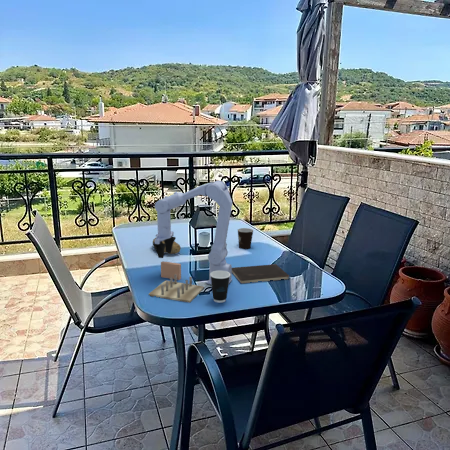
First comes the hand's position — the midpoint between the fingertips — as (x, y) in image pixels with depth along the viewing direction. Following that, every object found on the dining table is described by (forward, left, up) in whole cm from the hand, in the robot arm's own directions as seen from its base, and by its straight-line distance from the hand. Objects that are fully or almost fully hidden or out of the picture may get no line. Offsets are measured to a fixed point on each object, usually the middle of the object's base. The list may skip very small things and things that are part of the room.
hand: (164, 255), depth 184 cm
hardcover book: (-40, -16, -10) cm, 44 cm away
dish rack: (-13, +15, -10) cm, 22 cm away
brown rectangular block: (-4, +2, -10) cm, 11 cm away
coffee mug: (-22, -55, -10) cm, 60 cm away
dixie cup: (-32, +16, -10) cm, 37 cm away
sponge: (+15, -31, -10) cm, 36 cm away
